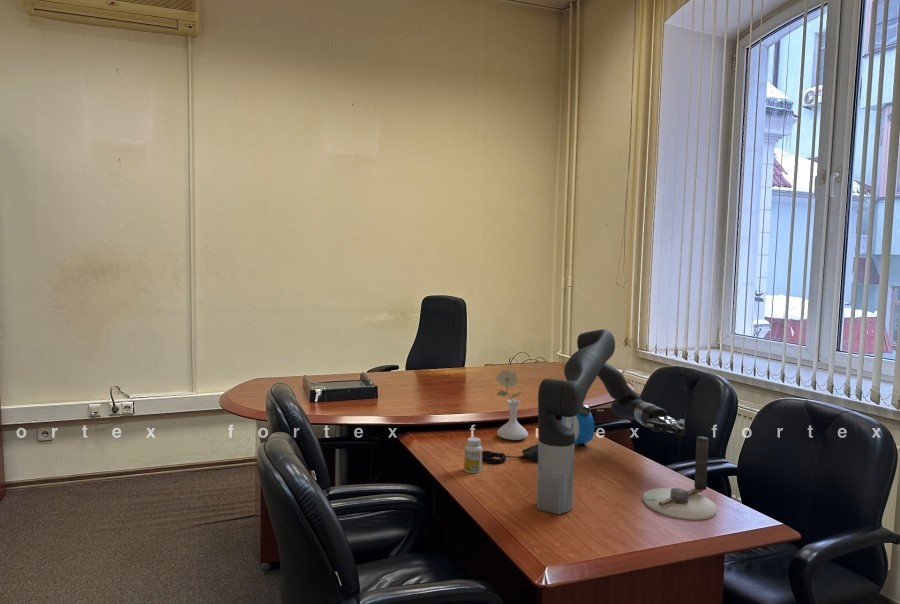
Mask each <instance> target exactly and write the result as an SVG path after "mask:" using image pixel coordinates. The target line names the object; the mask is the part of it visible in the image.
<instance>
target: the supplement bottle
mask: <svg viewBox="0 0 900 604" xmlns="http://www.w3.org/2000/svg"><path fill="white" fill-rule="evenodd" d="M466 442H467V445H465V446H464V464H463V465H464V466H463V467H464V471H465V472H467V473H468V474H469V473H470V474H477V473H481V472H482V470H483V462H482V451H483V446H482V445H481V439H480V438H479V437H477V436H475V437H468V438H467V440H466Z"/></svg>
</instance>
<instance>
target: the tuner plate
mask: <svg viewBox="0 0 900 604" xmlns="http://www.w3.org/2000/svg"><path fill="white" fill-rule="evenodd" d="M672 488H673V487H672ZM672 488H671V487H670V488H669V487H664V488H663V487H659V488H652V489H649V490H647V491H645V492H644V493H643V497H642V499H643V501H642V502H643V504H644V505H645V506H646V507H648V508H649V509H651V510H652V511H654V512H656V513H659V514H661V515H663V516H667V517H670V518H675V519H681V520H687V521H688V520H689V521H700V520H701V521H702V520H708V519H712V518H713V517H715V516H716V514H717V510H718V509H717V505H716V504H715V502H713V501H712V500H711V499H710V498H708V497H706V496H704V495H702V494H700V493H698V494H695V495H692V496H690V497H688V503H685V504H681V503H676V502H673V503H670V504H667V505H665V506H660V505H659V502H660V501H663V500H666V499H668V498H670V496H671V489H672Z"/></svg>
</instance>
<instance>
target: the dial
mask: <svg viewBox="0 0 900 604" xmlns="http://www.w3.org/2000/svg"><path fill="white" fill-rule="evenodd" d="M709 439H710V438H708V437H706V436H696V441H695V442H696V445H695V447H696V448H695V467H694V484H693V485H694V486H693V489H689V490H686V489H684V488H678V487H674V488H673V487H672V489H671V496H670V498H668V499H666V500H663V501H660V502H659V505H660V506H665V505H667V504H670V503H673V502H676V503H681V504H685V503H688V497H690V496H692V495H695V494H700V493H702V492H703V491H706V490H707V482H708V481H707V480H708V463H709V462H708V460H709V459H708V457H709V441H710V440H709Z"/></svg>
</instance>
